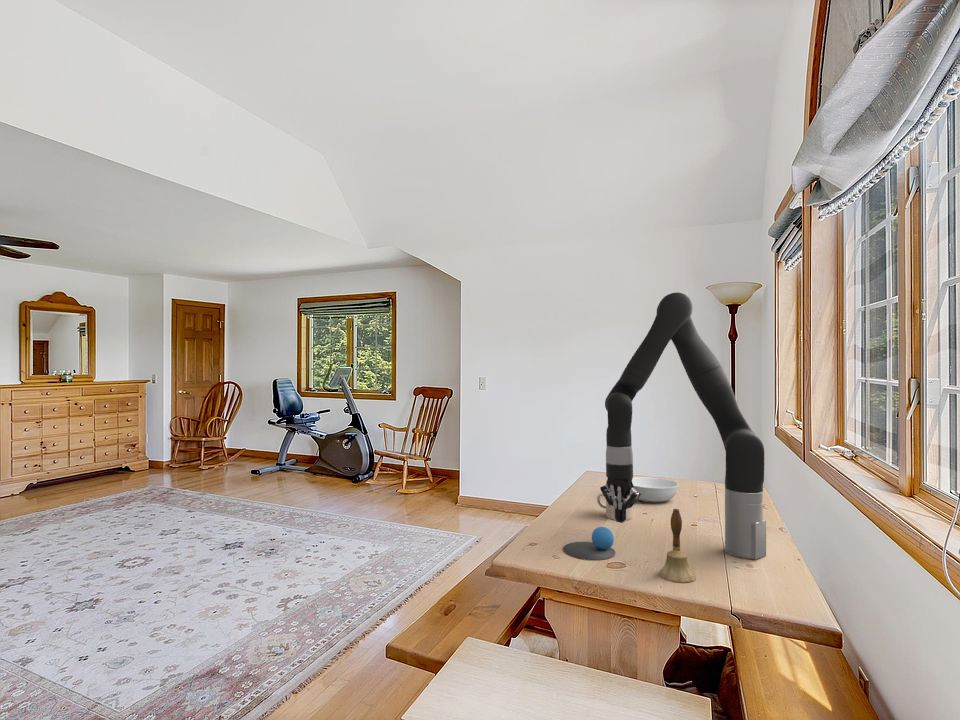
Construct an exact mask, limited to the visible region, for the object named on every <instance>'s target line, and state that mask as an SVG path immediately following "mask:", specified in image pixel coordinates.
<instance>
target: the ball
mask: <svg viewBox="0 0 960 720" xmlns="http://www.w3.org/2000/svg"><path fill="white" fill-rule="evenodd" d="M591 542H593V544H594V545H595V546H596V547H597V548H598V549H601V550H606V549H609V548H610V547H611V548H612V546H613V545H614V542H615V538H614V534H613V532H612V531H611V530H610V529H609V528H607V527H605V526H599V527H596V528H595V529H594V530H593V531H592V534H591Z"/></svg>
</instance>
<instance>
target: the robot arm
mask: <svg viewBox="0 0 960 720" xmlns="http://www.w3.org/2000/svg"><path fill="white" fill-rule="evenodd" d="M693 308H694V307H693V303H692V300H691V299H690V297H689V296H688V295H686V294H685V293H683V292H672V293H669V294H667V295H665V296H663V298H662V299H661V300H660V301H659V303H658V305H657V308H656V315H655V318H654V320H653V322H652V323H651V324H652V325H651V327H650V328H649V330H648V332H647V333H646V336H645V337H644V338H643V340H642V342H641V343H640V344H639V346H638V348H637V349H636V350H635V352H634V353H633V355H632V356H631V358H630V359H629V361H628V363H627V365H626V367H624V370H623V371H622V373H621V375H620V377H619V379H618V380H617V382H616V383H615V384H614V386H613V387H612V389H611V390H610V391H609V393H608V394H607V396H606V398H605V399H604V400H605V401H604V407H605V410H606V411H607V428H606V433H605V434H606V440H605V441H606V447H605V448H606V449H605V476H606V478H607V480H606V483H605V484H604V485H603V486H600V488H599V490H600V491H601V494H602V493H603V495H604V496H603V497H604V498H605V501H606V500H607V502H608V504H609V505H612V506H613V507H614V508H615V519H616V520H615V521H616V523H621V524H622V523H624V522H625V521H627V520H626V509H627V508H631V507H632V506H634V505H635V503H637V501H638V498H639V497H640V495H641V493H640V492H636V490H635V489H634V485H633V483H632V479H633V477H634V462H633V461H634V460H633V459H634V458H633V457H634V455H633V449H632V446H633V444H632V430H631V429H632V419H633V400H634V399H635V397H636V396H637V394H638V392H640V391H641V390H643V387H644V386H645V385H646V383H647V382H648V380H649V379H650V377H651V375H652V373H653V371H654V370H655V368H656V366H657V364H658V362H659V360H660V358H661V357H662V354H663V353H664V351H665V350H666V348H667V346H668V344H669V342H670V341H671V342H672V344H673V345H674V347H675V349H676V352H677V354H678V356H679V359H680V362H681V364H682V366H683V368H684V370H685V374H686V376H687V377H688V379H689V382H690V383H691V385H692V387H693V390H694V391H695V393H696V395H697V396H698V399H699V400H700V401H701V403H702V405H703V406H704V408H705V409H706V410H707V411H708V413H709V414H710V416H711V417H712V419H713V421H714V423H715V425H716V428H717V431H718V432H719V435H720V438H721V441H722V443H723V447H724V450H725V473H724V474H725V477H724V551H725V553H727V554H729V555H731V556H734V557H738V558H742V559H751V560H753V561H754V560H759V559H762V558H763V557H766V556H767V520H766V519H765V518H763V517H764V511H763V510H764V509H763V508H764V505H763V504H764V503H763V502H764V501H763V499H764V491H763V490H764V481H765V447H764V446H765V445H764V444H763V442H762V440H761V439H760V437H759V436H758V435H757V434H756V433H755V431H753V429H752V427H750V425H749V423H748V422H747V420H746V418H745V417H744V415H743V414H742V412H741V410H740V408H739V406H738V403H737V399H736V396H735V392H734V390H733V388H732V384H731V382H730V380H729V378H728V376H727V374H726V372H725V369H724V367H723V366H722V363H720V361H719V360H718V358H717V356H716V355H715V354H714V352H713V351H712V350H711V348H710V347H708V345H707V344H706V343H705V342H704V340H703V339H702V338H701V336H700V334H699V333H698V331H697V329H696V326H695V323H694V321H693V319H692V317H691V316H692V315H693V310H694V309H693ZM629 494H630V495H629ZM628 495H629V496H630V497H629V499H628Z"/></svg>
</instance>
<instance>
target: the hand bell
mask: <svg viewBox="0 0 960 720" xmlns="http://www.w3.org/2000/svg"><path fill="white" fill-rule="evenodd" d="M682 529H683V520H682V516H681V513H680V509H679V508H673V509H672V513H671V516H670V530H671V532H672V549H671V550H669V551H667V553H666V559H665V563H664V565H663V566H662V568H660V570H659V571H658V575H659V577H660V578H662V579H664V580H666V581H670V582H672V583H682V584H685V583H686V584H687V583H692V582H694V581H695V580H696V575H695V573H693V571H692V570H691V568H690V566H689V562H688V556H687V553H685V552H683V551H682V549H681V539H680V537H681V531H682Z"/></svg>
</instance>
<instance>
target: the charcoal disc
mask: <svg viewBox="0 0 960 720" xmlns="http://www.w3.org/2000/svg"><path fill="white" fill-rule="evenodd" d="M562 551H563V553H564V554H566V555H568V556H570V557H572V558H576V559H579V560H584V559H585V560H586V561H602V560H608V559H612V558H613V557H615V555H616V550H615V549H614V548H612V546H611V547H610V548H609V549H606V550H601V549H598V548H597V547H596V546H595V545H594V544H593V542H592V541H574V542H569V543H566V544H564V546H562ZM585 560H584V561H585Z"/></svg>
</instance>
